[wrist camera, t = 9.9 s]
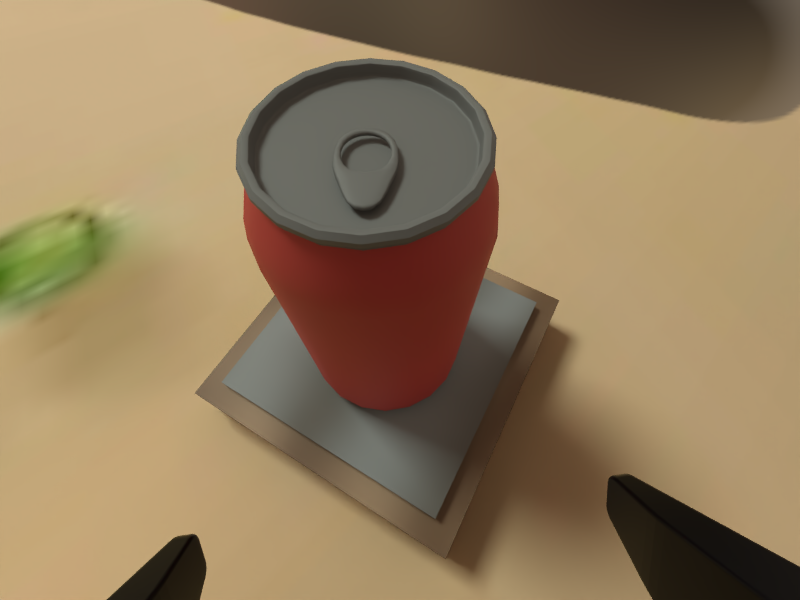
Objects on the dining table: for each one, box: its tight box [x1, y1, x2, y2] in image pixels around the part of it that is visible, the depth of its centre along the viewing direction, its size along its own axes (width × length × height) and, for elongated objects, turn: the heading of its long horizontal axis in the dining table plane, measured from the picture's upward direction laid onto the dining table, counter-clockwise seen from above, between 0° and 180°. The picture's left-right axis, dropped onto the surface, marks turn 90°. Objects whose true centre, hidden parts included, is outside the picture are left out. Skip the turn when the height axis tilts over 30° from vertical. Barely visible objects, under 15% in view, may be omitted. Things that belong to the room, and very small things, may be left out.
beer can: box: [236, 58, 499, 411], centre depth 14 cm, size 7×7×12 cm
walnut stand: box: [195, 268, 559, 559], centre depth 21 cm, size 13×13×3 cm
